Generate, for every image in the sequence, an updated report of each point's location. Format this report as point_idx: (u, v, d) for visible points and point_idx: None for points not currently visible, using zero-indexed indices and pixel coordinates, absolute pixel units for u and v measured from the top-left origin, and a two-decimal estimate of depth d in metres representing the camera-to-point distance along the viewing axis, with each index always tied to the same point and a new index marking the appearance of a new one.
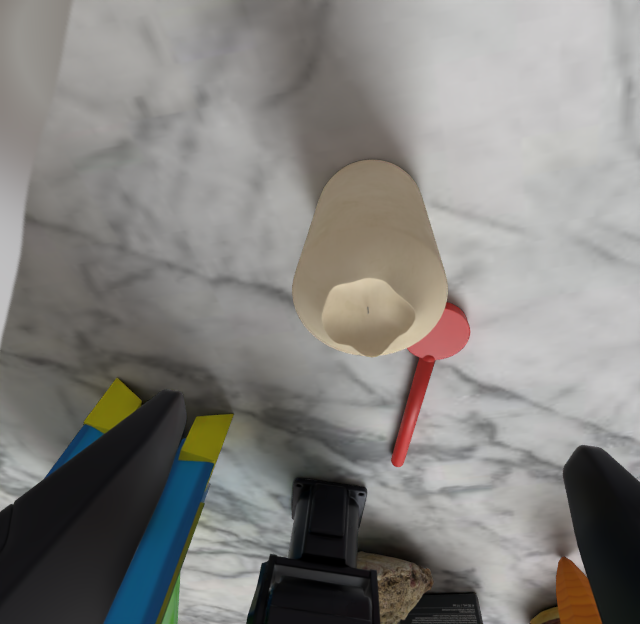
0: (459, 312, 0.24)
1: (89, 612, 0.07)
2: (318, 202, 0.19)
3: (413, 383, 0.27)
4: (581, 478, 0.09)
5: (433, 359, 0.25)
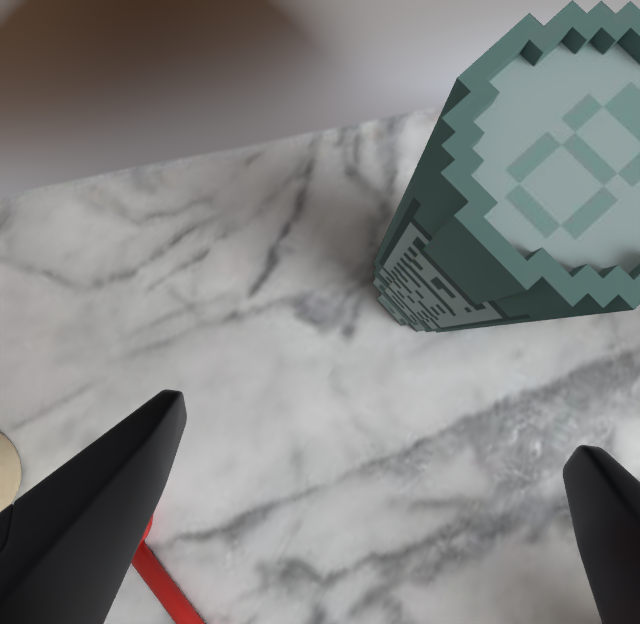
0: None
1: (89, 612, 0.07)
2: None
3: None
4: (581, 478, 0.09)
5: None
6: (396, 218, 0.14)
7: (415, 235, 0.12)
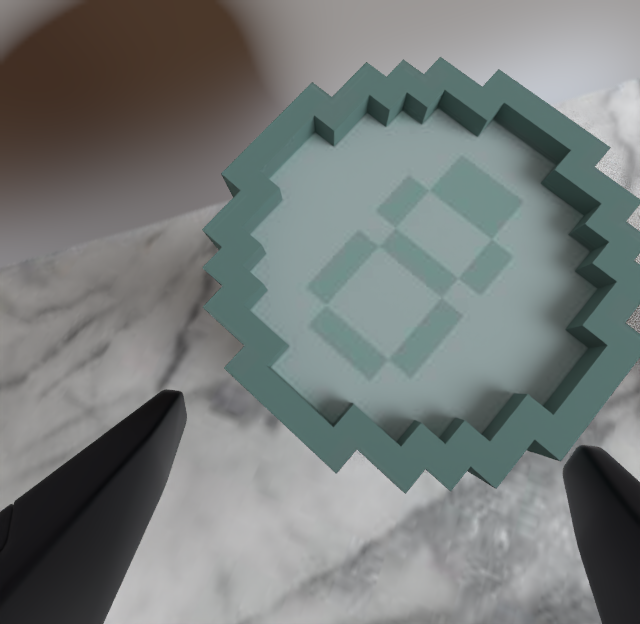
0: None
1: (89, 612, 0.07)
2: None
3: None
4: (581, 478, 0.09)
5: None
6: None
7: None
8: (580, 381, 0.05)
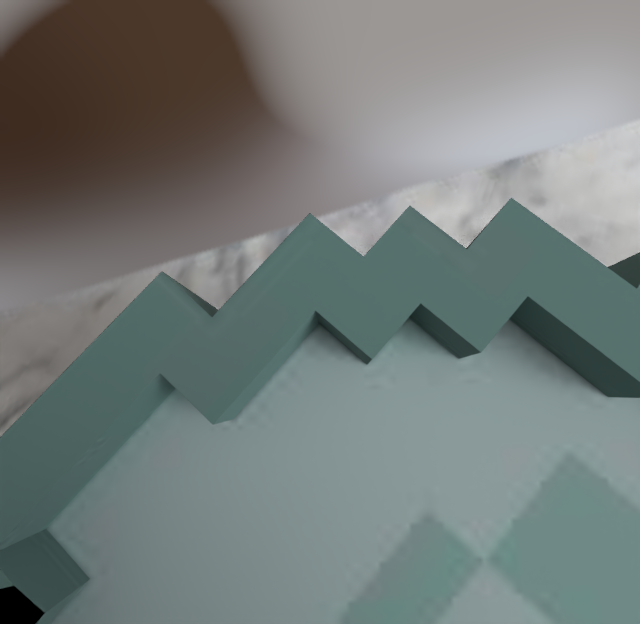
0: None
1: None
2: None
3: None
4: None
5: None
6: None
7: None
8: None
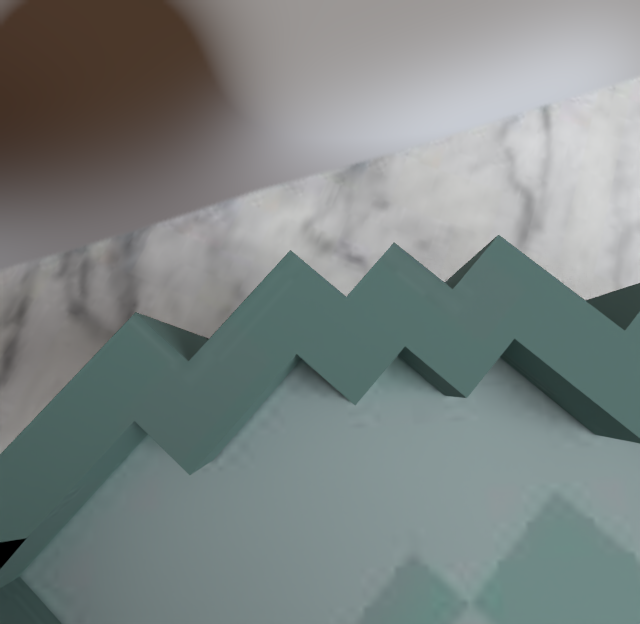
0: None
1: None
2: None
3: None
4: None
5: None
6: None
7: None
8: None
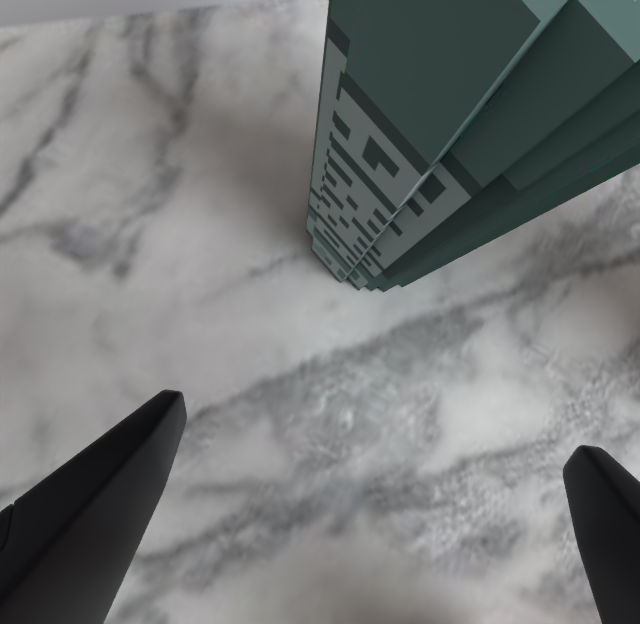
0: None
1: (89, 613, 0.07)
2: None
3: None
4: (581, 478, 0.09)
5: None
6: (321, 91, 0.10)
7: (338, 71, 0.07)
8: None
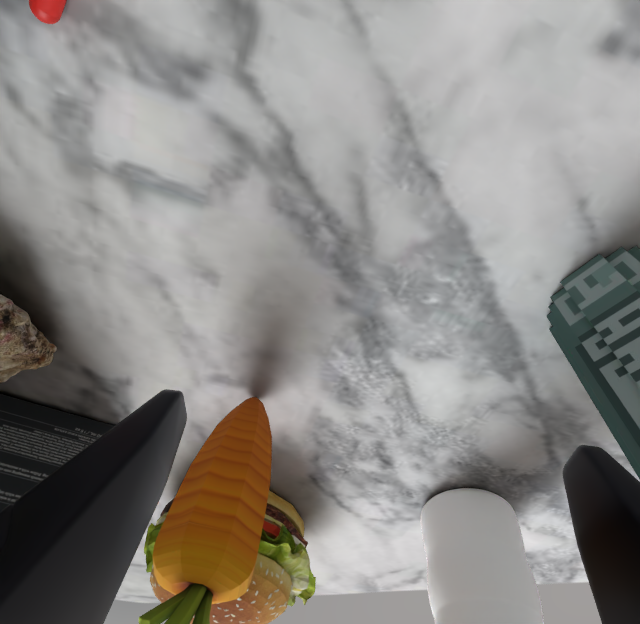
0: None
1: (89, 612, 0.07)
2: None
3: None
4: (581, 478, 0.09)
5: None
6: None
7: None
8: None
